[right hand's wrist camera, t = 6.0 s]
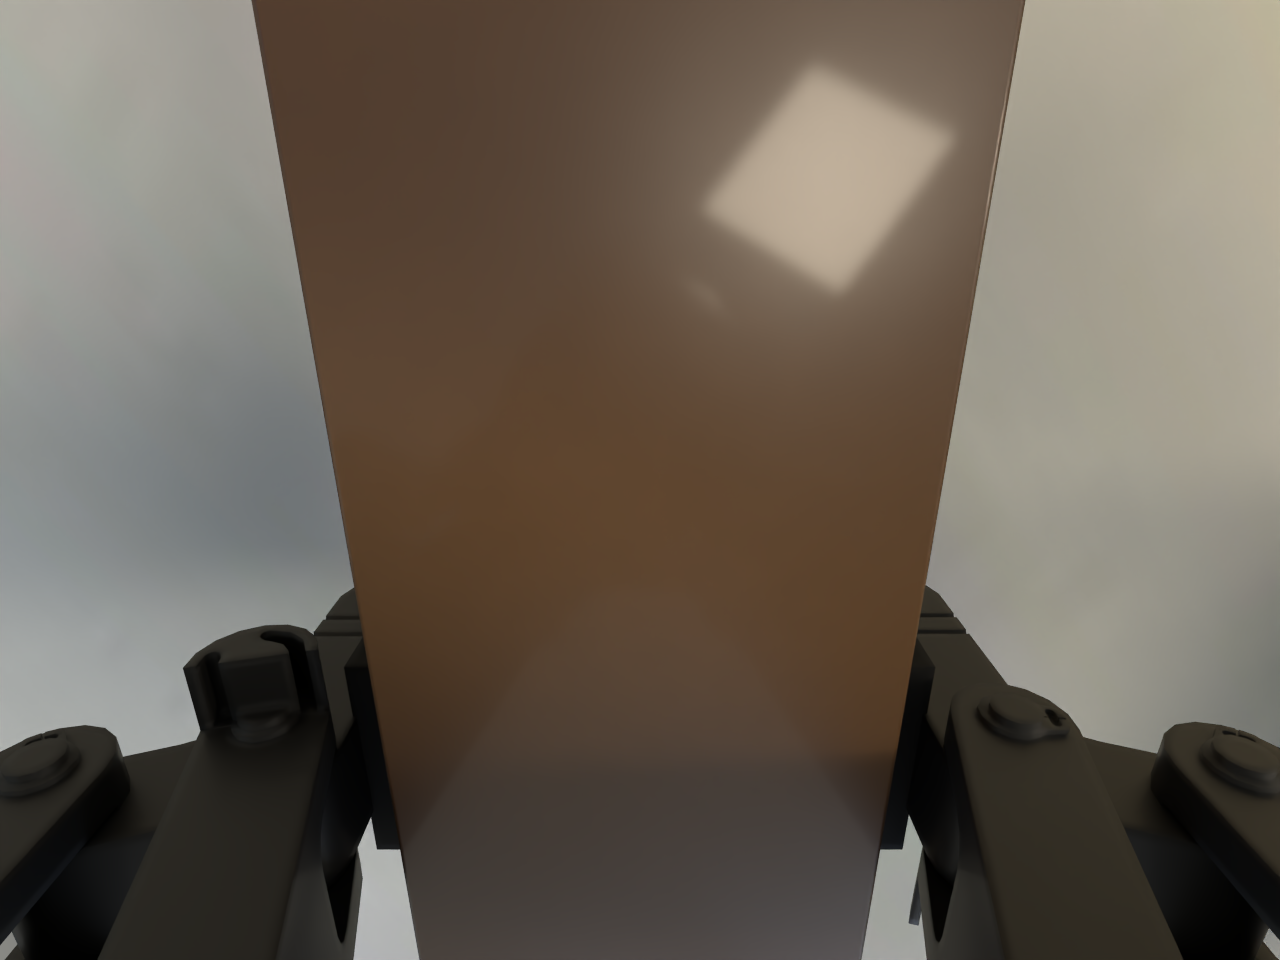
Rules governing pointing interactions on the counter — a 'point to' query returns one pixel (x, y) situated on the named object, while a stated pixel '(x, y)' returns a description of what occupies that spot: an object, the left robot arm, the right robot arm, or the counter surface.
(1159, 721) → the counter surface
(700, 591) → the bar
